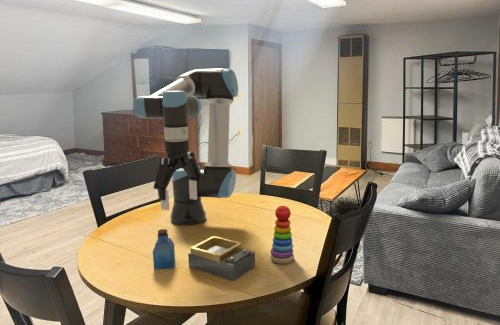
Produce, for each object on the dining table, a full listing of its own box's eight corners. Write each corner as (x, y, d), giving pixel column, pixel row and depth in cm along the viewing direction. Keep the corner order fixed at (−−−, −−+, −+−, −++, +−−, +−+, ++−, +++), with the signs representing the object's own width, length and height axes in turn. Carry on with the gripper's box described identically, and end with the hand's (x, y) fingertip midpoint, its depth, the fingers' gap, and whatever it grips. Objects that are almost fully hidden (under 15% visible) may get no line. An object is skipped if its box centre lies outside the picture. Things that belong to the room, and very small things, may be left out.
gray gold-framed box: (188, 267, 137) (187, 247, 136) (212, 254, 147) (211, 235, 145) (233, 281, 127) (232, 259, 126) (255, 266, 137) (254, 246, 136)
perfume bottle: (156, 261, 142) (154, 227, 140) (175, 260, 142) (173, 227, 140) (154, 269, 136) (151, 234, 133) (173, 268, 136) (171, 233, 134)
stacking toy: (293, 265, 137) (293, 210, 133) (269, 264, 138) (268, 209, 135) (295, 255, 145) (295, 203, 141) (271, 254, 146) (271, 202, 142)
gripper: (157, 146, 121) (161, 216, 126) (210, 135, 142) (212, 196, 146) (138, 144, 125) (143, 212, 130) (193, 134, 146) (195, 193, 150)
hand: (180, 204), depth 138 cm, fingers open, 13 cm apart
